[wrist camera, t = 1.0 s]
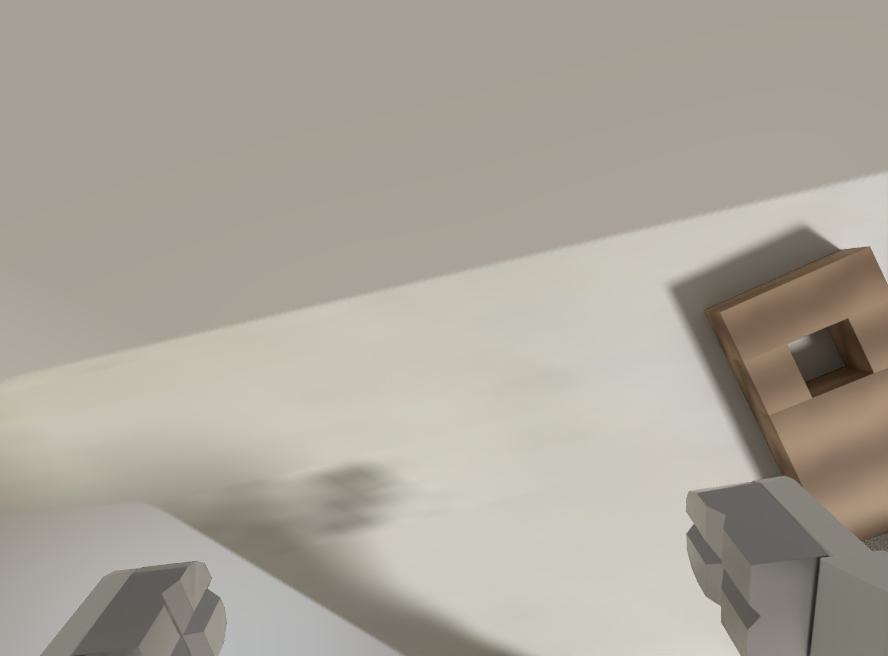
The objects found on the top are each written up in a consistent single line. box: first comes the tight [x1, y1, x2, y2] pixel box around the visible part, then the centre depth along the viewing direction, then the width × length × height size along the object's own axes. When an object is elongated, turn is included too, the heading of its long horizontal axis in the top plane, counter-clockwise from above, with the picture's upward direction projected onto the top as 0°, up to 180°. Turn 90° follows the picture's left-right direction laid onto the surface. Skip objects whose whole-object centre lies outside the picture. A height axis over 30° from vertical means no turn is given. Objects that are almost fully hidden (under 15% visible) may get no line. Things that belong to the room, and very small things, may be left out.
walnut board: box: [704, 246, 888, 541], centre depth 42 cm, size 22×12×4 cm, turn 26°
